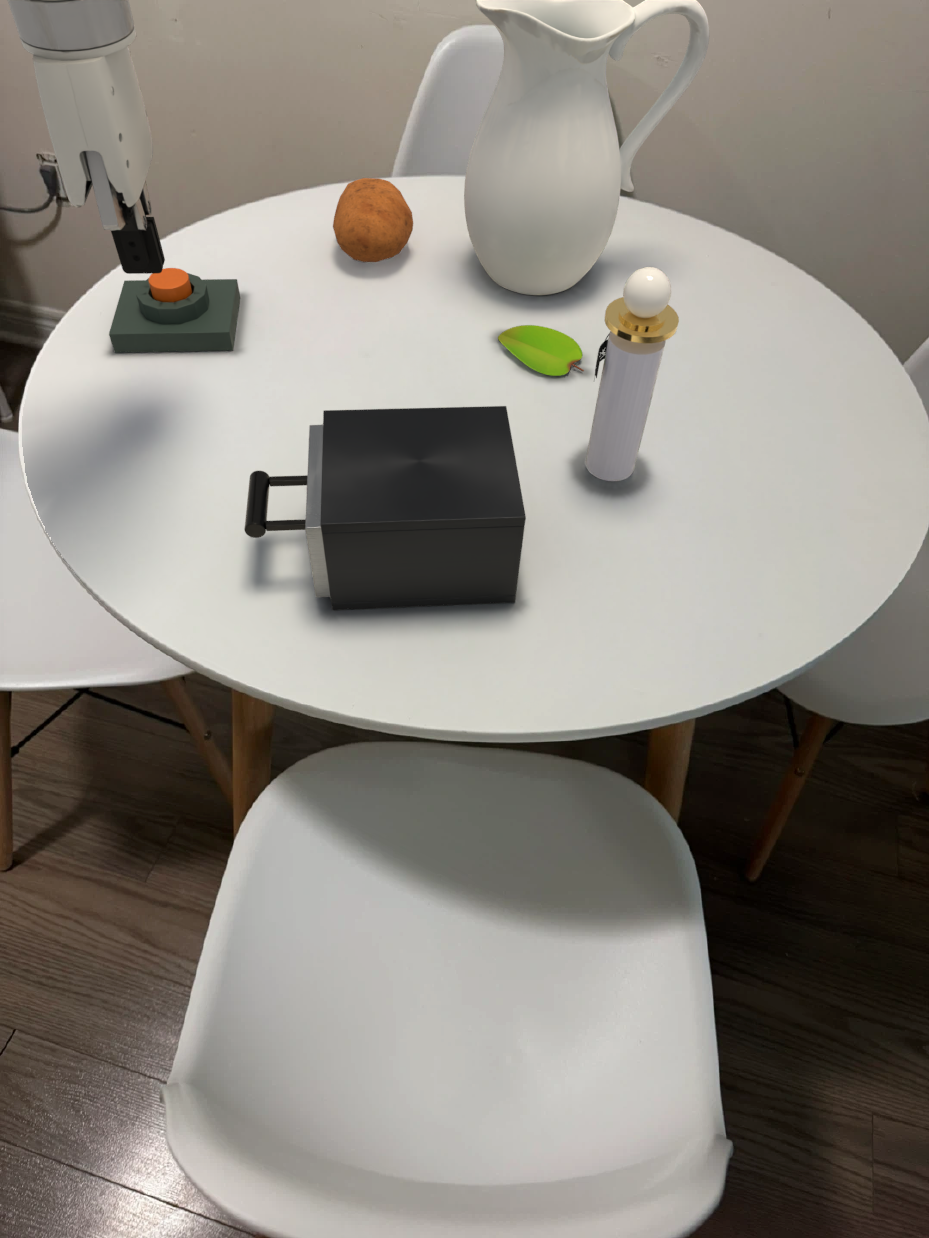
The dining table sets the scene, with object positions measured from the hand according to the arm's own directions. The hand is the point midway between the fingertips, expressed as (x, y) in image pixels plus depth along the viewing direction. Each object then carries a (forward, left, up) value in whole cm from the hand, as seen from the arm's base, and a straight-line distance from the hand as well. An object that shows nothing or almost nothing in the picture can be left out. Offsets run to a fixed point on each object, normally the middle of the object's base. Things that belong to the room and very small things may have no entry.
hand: (144, 268), depth 73 cm
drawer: (+18, -19, -14) cm, 30 cm away
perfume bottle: (+40, -10, -15) cm, 44 cm away
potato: (+19, +29, -15) cm, 38 cm away
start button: (-2, +15, -11) cm, 19 cm away
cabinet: (+22, -19, -15) cm, 33 cm away
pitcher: (+41, +25, -15) cm, 50 cm away
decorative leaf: (+36, +8, -15) cm, 40 cm away
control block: (-2, +15, -15) cm, 21 cm away
